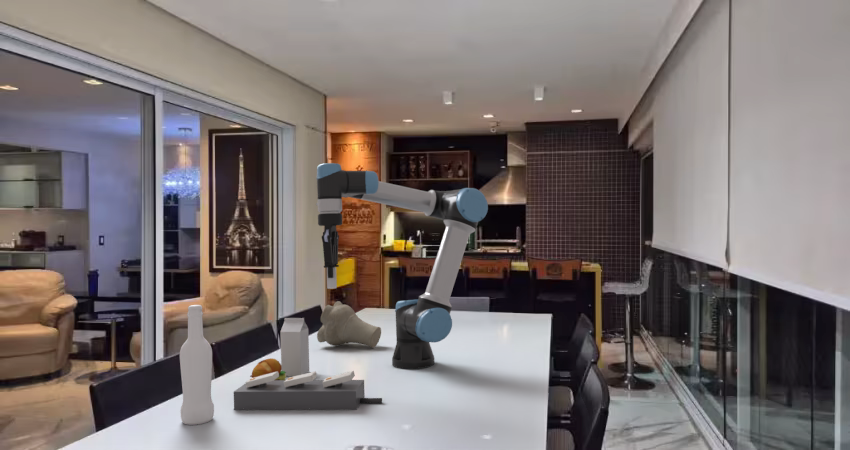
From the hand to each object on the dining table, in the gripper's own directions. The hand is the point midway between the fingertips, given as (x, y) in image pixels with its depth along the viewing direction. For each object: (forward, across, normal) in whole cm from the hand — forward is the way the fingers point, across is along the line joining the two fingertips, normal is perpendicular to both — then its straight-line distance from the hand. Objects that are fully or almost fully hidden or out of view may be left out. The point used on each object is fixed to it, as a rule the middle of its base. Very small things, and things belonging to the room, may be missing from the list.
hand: (331, 288), depth 186 cm
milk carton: (+31, -15, -17) cm, 38 cm away
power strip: (+30, +19, -2) cm, 36 cm away
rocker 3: (+24, +19, +6) cm, 31 cm away
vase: (+31, -59, -7) cm, 67 cm away
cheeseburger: (+31, +2, -20) cm, 37 cm away
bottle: (+31, +34, -28) cm, 54 cm away
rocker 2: (+24, +19, -5) cm, 31 cm away
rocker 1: (+24, +19, -16) cm, 34 cm away
